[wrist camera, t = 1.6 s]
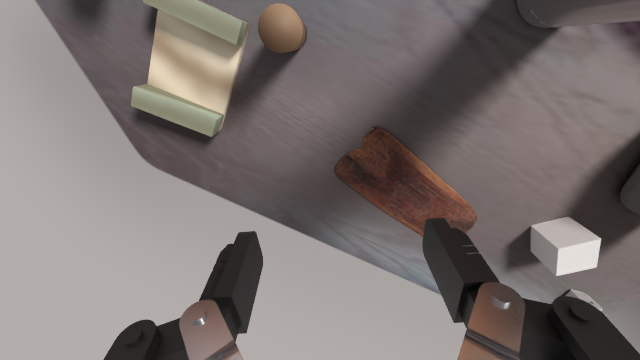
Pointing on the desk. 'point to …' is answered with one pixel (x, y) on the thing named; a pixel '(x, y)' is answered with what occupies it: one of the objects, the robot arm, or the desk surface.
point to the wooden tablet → (402, 184)
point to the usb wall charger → (583, 298)
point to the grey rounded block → (632, 192)
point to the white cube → (565, 246)
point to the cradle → (192, 64)
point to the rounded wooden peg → (281, 29)
